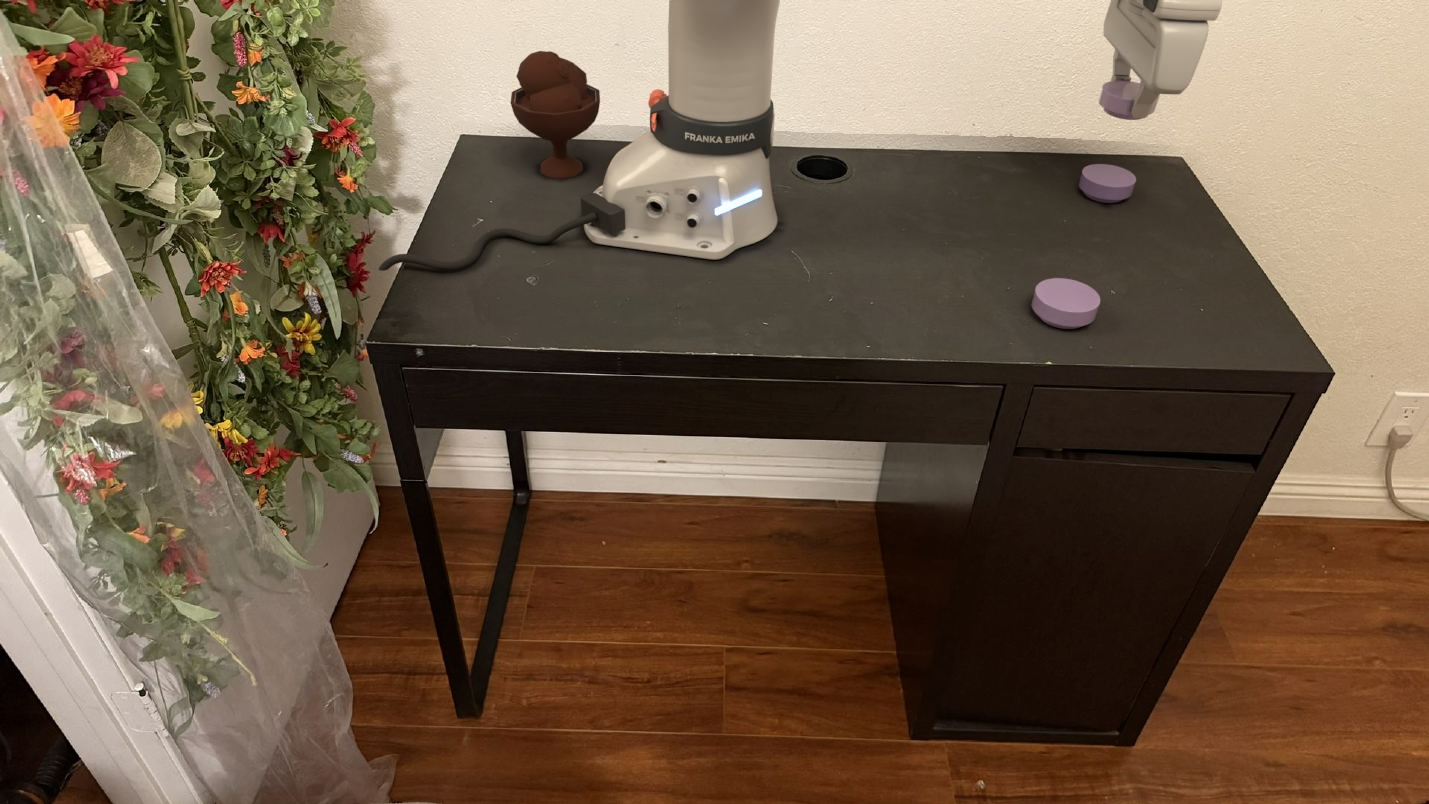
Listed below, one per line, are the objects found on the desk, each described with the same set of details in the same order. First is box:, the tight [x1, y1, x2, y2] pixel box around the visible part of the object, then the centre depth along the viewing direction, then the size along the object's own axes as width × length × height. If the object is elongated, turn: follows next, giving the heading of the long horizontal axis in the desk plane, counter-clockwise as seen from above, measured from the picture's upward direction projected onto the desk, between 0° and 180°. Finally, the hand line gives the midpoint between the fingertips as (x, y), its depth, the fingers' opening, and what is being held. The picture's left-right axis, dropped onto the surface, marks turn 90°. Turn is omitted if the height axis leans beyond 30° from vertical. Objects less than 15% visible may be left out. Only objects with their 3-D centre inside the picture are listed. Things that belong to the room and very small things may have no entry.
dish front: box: [1031, 277, 1101, 330], centre depth 101 cm, size 6×6×3 cm
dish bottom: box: [1078, 163, 1137, 204], centre depth 123 cm, size 6×6×3 cm
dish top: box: [1097, 80, 1160, 121], centre depth 116 cm, size 6×6×3 cm
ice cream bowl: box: [510, 50, 601, 179], centre depth 121 cm, size 11×11×15 cm
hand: (1127, 102), depth 116 cm, fingers closed on dish top, 6 cm apart
